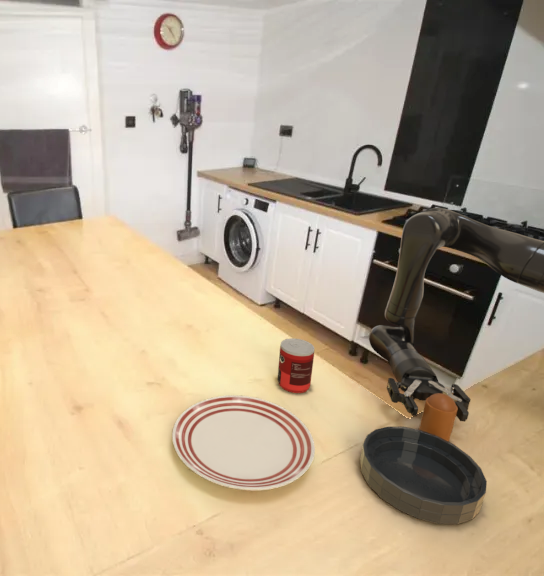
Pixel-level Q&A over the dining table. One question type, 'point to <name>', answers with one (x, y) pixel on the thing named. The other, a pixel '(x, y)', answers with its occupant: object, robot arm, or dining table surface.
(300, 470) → the dinner plate
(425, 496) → the shallow round tray
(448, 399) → the orange round-topped cylinder
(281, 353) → the canned food
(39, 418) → the dining table surface
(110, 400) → the dining table surface
